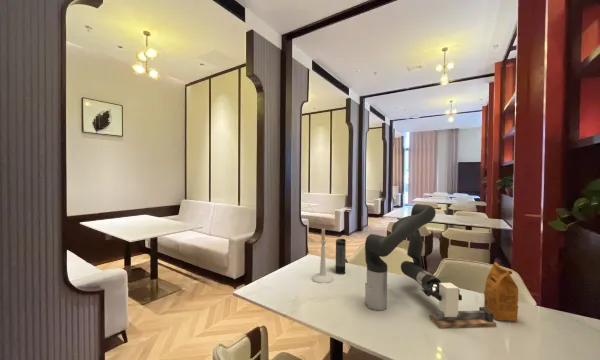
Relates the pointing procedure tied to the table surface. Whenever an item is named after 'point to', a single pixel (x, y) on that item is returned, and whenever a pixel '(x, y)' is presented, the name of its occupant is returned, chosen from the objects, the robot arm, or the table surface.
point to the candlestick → (322, 265)
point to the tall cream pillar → (449, 299)
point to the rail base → (464, 319)
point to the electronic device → (340, 256)
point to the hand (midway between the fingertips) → (451, 298)
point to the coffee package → (501, 294)
